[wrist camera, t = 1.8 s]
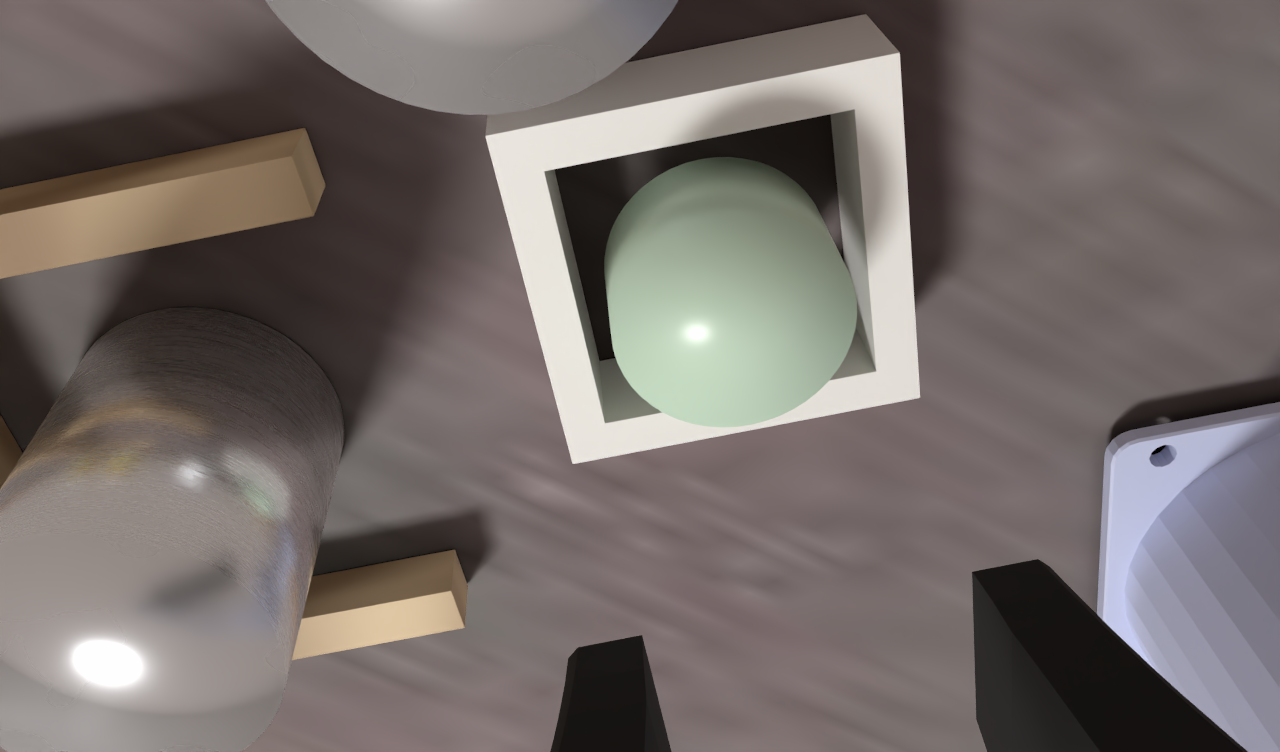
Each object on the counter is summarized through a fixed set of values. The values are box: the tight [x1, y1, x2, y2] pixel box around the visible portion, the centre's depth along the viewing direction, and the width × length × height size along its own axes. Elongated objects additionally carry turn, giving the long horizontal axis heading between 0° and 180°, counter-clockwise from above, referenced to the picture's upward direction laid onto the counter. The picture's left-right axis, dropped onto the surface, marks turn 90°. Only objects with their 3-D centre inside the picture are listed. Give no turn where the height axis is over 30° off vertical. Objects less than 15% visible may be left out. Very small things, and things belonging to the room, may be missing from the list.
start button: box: [604, 157, 857, 427], centre depth 18 cm, size 4×4×2 cm
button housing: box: [485, 14, 920, 464], centre depth 19 cm, size 6×6×2 cm
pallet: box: [0, 128, 468, 660], centre depth 18 cm, size 8×19×2 cm, turn 10°
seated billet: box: [0, 307, 344, 752], centre depth 19 cm, size 5×5×6 cm
